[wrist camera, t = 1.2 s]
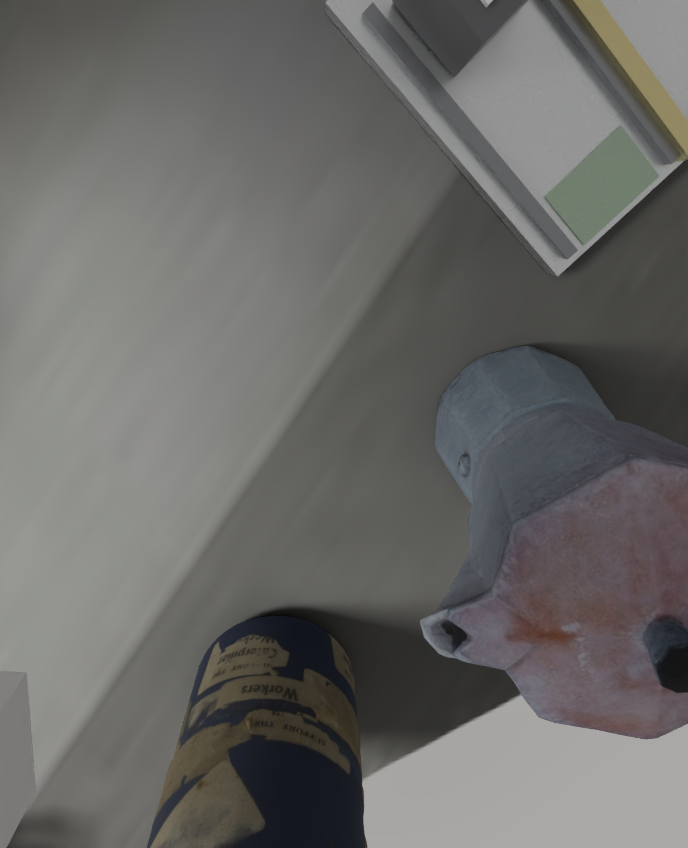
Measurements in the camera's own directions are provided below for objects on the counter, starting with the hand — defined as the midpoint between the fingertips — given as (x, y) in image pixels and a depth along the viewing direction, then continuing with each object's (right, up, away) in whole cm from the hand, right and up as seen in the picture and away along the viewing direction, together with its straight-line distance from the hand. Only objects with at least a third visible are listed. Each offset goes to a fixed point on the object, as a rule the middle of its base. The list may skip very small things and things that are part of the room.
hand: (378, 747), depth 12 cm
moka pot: (+9, +6, +23) cm, 25 cm away
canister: (-5, -9, +27) cm, 29 cm away
